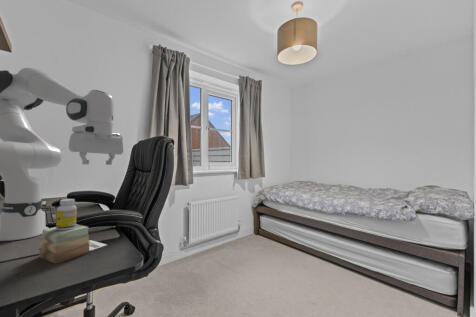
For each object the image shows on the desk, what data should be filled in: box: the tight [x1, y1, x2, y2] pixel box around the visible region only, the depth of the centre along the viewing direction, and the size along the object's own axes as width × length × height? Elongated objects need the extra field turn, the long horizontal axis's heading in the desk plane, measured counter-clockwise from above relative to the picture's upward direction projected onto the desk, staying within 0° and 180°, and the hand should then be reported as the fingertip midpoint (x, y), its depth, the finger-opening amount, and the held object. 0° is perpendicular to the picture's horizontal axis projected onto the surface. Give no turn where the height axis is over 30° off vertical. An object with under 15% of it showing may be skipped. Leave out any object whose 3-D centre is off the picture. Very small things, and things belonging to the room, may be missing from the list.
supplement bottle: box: [55, 198, 78, 230], centre depth 75 cm, size 5×5×10 cm
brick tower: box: [38, 223, 90, 264], centre depth 75 cm, size 10×10×9 cm
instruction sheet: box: [89, 239, 108, 252], centre depth 84 cm, size 10×6×1 cm, turn 66°
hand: (97, 164), depth 89 cm, fingers open, 8 cm apart
